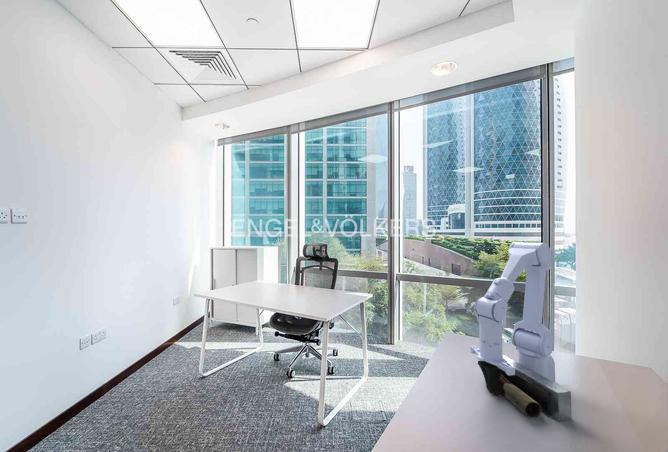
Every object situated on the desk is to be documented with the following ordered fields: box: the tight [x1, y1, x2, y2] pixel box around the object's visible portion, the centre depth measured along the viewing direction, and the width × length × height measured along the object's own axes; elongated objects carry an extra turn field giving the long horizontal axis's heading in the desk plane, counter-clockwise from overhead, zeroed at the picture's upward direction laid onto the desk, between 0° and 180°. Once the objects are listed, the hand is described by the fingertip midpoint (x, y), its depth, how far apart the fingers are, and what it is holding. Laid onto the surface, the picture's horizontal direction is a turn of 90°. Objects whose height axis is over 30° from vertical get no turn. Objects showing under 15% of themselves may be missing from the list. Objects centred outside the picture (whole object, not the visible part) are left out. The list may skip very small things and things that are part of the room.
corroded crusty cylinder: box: [485, 374, 542, 419], centre depth 80 cm, size 18×7×6 cm, turn 6°
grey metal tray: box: [502, 353, 573, 422], centre depth 82 cm, size 5×24×7 cm, turn 12°
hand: (491, 388), depth 80 cm, fingers closed
